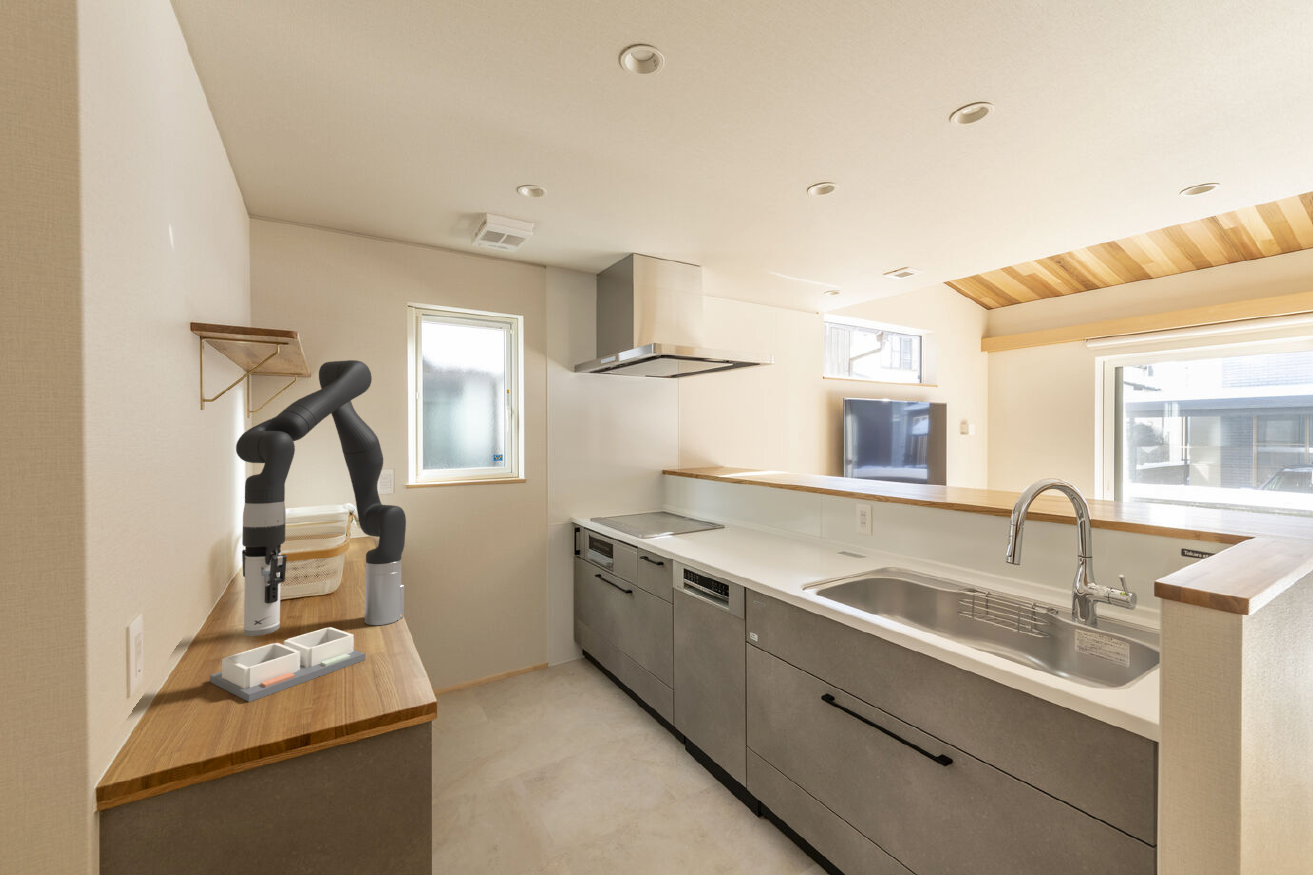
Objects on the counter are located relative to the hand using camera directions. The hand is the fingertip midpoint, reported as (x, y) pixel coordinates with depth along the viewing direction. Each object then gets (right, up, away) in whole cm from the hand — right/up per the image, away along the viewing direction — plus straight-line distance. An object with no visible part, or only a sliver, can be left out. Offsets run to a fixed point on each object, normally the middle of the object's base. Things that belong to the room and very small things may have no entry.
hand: (263, 599), depth 117 cm
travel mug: (0, -7, 0) cm, 7 cm away
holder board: (+3, -18, +5) cm, 18 cm away
